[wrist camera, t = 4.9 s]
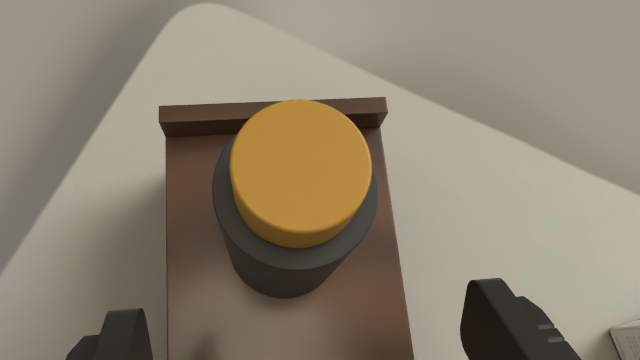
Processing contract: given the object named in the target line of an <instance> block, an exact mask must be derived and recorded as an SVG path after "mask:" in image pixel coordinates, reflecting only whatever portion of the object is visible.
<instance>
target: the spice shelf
mask: <svg viewBox="0 0 640 360" xmlns="http://www.w3.org/2000/svg"><path fill="white" fill-rule="evenodd" d="M310 101H315V102H319V103H322V104H326V105H328V106H330V107H332V108H334V109H336V110H338V111H339V112H341V113H342V114H344V115H345V116H346V117H348V118H349V119H350V120H351V121H352V122H353V123H354V124H355V126H356V127H357V128H358V129H359V131H360V132H361V134H362V135H363V137H364V139H365V141H366V143H367V145H368V148H369V152H370V155H371V161H372V163H373V166H374V169H375V172H376V176H377V182H378V205H377V210H376V214H375V217H374V220H373V222H372V225H371V227H370V229H369V230H368V232H367V234H366V236H365V237H364V238H363V239H362V241H361V242H360V243H359V244H358V246H357V247H356V248H355V249H354V250H353V251H352V252H351V253H350V254H349V255H348V256H347V257H346V259H345V260H344V261H343V262H342V263H341V264H340V265H339V266H338V267H337V268H336V269H335V270H334V272H333V273H332V274H331V275H330V276H329V277H328V278H327V279H326V280H325V281H324V282H323V283H322V284H321V285H320V286H319V287H317V288H316V289H315V290H313V291H311V292H309V293H307V294H305V295H302V296H299V297H295V298H287V299H286V298H274V297H269V296H266V295H263V294H261V293H259V292H257V291H255V290H254V289H252V288H251V287H249V286H248V285H247V284H246V283H245V282H244V281H243V280H242V279H241V278H240V276H239V275H238V273H237V272H236V270H235V268H234V266H233V264H232V261H231V258H230V255H229V252H228V249H227V246H226V243H225V240H224V237H223V234H222V231H221V228H220V225H219V222H218V219H217V216H216V213H215V210H214V205H213V200H212V180H213V175H214V170H215V167H216V164H217V161H218V159H219V157H220V155H221V153H222V151H223V149H224V148H225V147H226V145H227V144H228V143H229V141H230V140H231V139H232V138H233V137H234V136H235V135H236V134H237V133H238V132H239V131H240V130H241V128H242V127H243V125H244V124H245V123H246V122H247V121H248V120H249V119H250V118H251V117H252V116H254V115H255V114H256V113H257V112H259V111H261V110H262V109H264V108H266V107H268V106H270V105H273V104H276V103H279V102H282V101H275V102H250V103H224V104H199V105H174V106H159V123H160V126H161V128H162V130H163V132H164V135H165V137H166V259H167V360H414V355H413V348H412V341H411V334H410V328H409V321H408V314H407V307H406V300H405V294H404V287H403V280H402V273H401V266H400V259H399V253H398V246H397V239H396V232H395V225H394V219H393V212H392V205H391V198H390V191H389V184H388V178H387V171H386V164H385V157H384V150H383V144H382V137H381V130H380V126H381V124H382V123H383V121H384V119H385V117H386V115H387V113H388V110H387V103H386V98H385V97H376V98H351V99H326V100H310Z"/></svg>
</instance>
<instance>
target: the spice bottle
mask: <svg viewBox="0 0 640 360" xmlns="http://www.w3.org/2000/svg"><path fill="white" fill-rule="evenodd" d="M212 200H213V205H214V210H215V213H216V216H217V219H218V222H219V225H220V228H221V231H222V234H223V237H224V240H225V243H226V246H227V249H228V252H229V255H230V258H231V261H232V264H233V266H234V268H235V270H236V272H237V273H238V275H239V276H240V278H241V279H242V280H243V281H244V282H245V283H246V284H247V285H248V286H249V287H251V288H252V289H254V290H255V291H257V292H259V293H261V294H263V295H266V296H269V297H274V298H286V299H287V298H295V297H299V296H302V295H305V294H307V293H309V292H311V291H313V290H315V289H316V288H317V287H319V286H320V285H321V284H322V283H323V282H324V281H325V280H326V279H327V278H328V277H329V276H330V275H331V274H332V273H333V272H334V270H335V269H336V268H337V267H338V266H339V265H340V264H341V263H342V262H343V261H344V260H345V259H346V257H347V256H348V255H349V254H350V253H351V252H352V251H353V250H354V249H355V248H356V247H357V246H358V244H359V243H360V242H361V241H362V239H363V238H364V237H365V236H366V234H367V232H368V230H369V229H370V227H371V225H372V222H373V220H374V217H375V214H376V210H377V205H378V182H377V176H376V172H375V169H374V166H373V163H372V161H371V155H370V152H369V148H368V145H367V143H366V141H365V139H364V137H363V135H362V134H361V132H360V131H359V129H358V128H357V127H356V126H355V124H354V123H353V122H352V121H351V120H350V119H349V118H348V117H346V116H345V115H344V114H342V113H341V112H339V111H338V110H336V109H334V108H332V107H330V106H328V105H326V104H322V103H319V102H315V101H310V100H288V101H282V102H279V103H276V104H273V105H270V106H268V107H266V108H264V109H262V110H261V111H259V112H257V113H256V114H255V115H254V116H252V117H251V118H250V119H249V120H248V121H247V122H246V123H245V124H244V125H243V127H242V128H241V130H240V131H239V132H238V133H237V134H236V135H235V136H234V137H233V138H232V139H231V140H230V141H229V143H228V144H227V145H226V147H225V148H224V149H223V151H222V153H221V155H220V157H219V159H218V161H217V164H216V167H215V170H214V175H213V180H212Z"/></svg>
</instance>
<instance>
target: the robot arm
mask: <svg viewBox="0 0 640 360" xmlns="http://www.w3.org/2000/svg"><path fill="white" fill-rule="evenodd" d="M460 335H461V341H462V345H463V348H464V351H465V353H466V355H467V356H468V358H469V360H581V359H580V357H579V356H578V355H577V354H576V352H575V351H574V350H573V348H572V347H571V346H570V345H569V343H568V342H567V341H565V340H564V337H563V336H562V334H561V333H560V332H559V331H558V329H557V328H554V324H553V323H552V322H551V320H550V319H549V318H548V317H547V315H546V314H545V313H544V312H543V310H542V309H541V308H539V307H538V306H536V305H535V304H534V303H532V302H531V301H529V300H528V299H526V298H525V297H524V296H521V297H515V295H514V294H513V292H512V291H511V290H510V288H509V287H508V286H507V284H506V283H505V282H504V281H503V280H502V279H501V278H492V279H481V280H471V281H470V282H469V283H468V286H467V291H466V296H465V302H464V308H463V314H462V319H461V325H460ZM66 360H153V356H152V350H151V345H150V339H149V334H148V329H147V324H146V318H145V313H144V311H143V309H142V308H139V309H128V310H116V311H109V312H108V313H107V315H106V318H105V321H104V324H103V327H102V330H101V333H100V335H92V336H84V337H83V338H82V339H81V340H80V341H79V342H78V344H77V345H76V346H75V347H74V348H73V349H72V350H71V351H70V352H69V354H68V355H67V358H66Z"/></svg>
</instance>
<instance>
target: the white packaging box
mask: <svg viewBox="0 0 640 360" xmlns="http://www.w3.org/2000/svg"><path fill="white" fill-rule="evenodd" d="M610 332H611V335H612V338H613V340H614V343H615V345H616V348H617V350H618V353H619V355H620V357H621V359H622V360H640V319H639V320H636V321H633V322H629V323H626V324H622V325H619V326H615V327H612V328H610Z"/></svg>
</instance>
